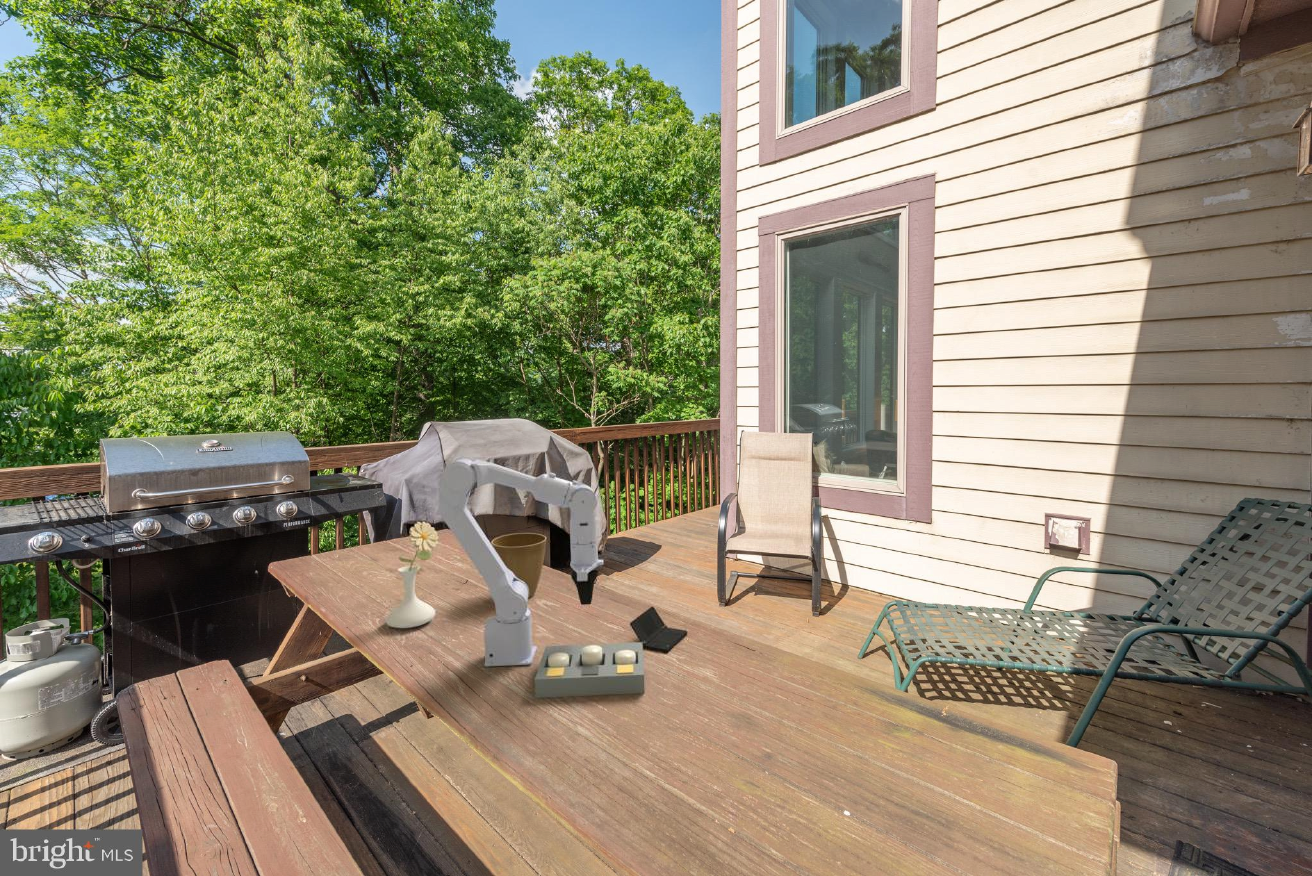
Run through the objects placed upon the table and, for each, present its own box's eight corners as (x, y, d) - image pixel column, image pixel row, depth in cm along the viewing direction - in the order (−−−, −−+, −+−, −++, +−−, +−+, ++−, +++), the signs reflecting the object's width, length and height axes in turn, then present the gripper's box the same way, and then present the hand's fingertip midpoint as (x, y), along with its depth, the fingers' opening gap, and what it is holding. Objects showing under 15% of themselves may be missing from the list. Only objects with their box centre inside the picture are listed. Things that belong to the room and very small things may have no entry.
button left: (547, 677, 109) (546, 662, 109) (550, 667, 113) (549, 653, 113) (568, 676, 109) (567, 661, 109) (570, 667, 113) (569, 652, 113)
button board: (535, 698, 104) (534, 678, 104) (546, 662, 118) (545, 645, 118) (644, 693, 105) (644, 673, 105) (642, 658, 119) (642, 641, 119)
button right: (615, 674, 110) (614, 659, 109) (615, 665, 113) (615, 650, 113) (635, 673, 110) (635, 658, 109) (635, 664, 114) (635, 649, 113)
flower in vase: (394, 637, 133) (388, 531, 131) (379, 623, 141) (374, 523, 139) (449, 621, 141) (445, 522, 139) (433, 609, 150) (428, 515, 148)
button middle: (581, 669, 109) (580, 654, 109) (582, 660, 113) (582, 645, 113) (602, 669, 109) (601, 653, 109) (602, 659, 113) (602, 644, 113)
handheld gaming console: (677, 647, 120) (650, 606, 123) (651, 665, 122) (625, 625, 124) (690, 633, 131) (665, 596, 134) (666, 650, 133) (642, 613, 135)
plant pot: (484, 595, 160) (482, 539, 159) (532, 583, 170) (530, 530, 169) (508, 609, 149) (506, 549, 148) (558, 595, 158) (556, 539, 157)
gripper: (600, 549, 115) (603, 615, 116) (604, 532, 129) (606, 591, 130) (565, 551, 114) (568, 616, 115) (572, 533, 129) (575, 592, 130)
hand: (586, 603), depth 123 cm, fingers closed
